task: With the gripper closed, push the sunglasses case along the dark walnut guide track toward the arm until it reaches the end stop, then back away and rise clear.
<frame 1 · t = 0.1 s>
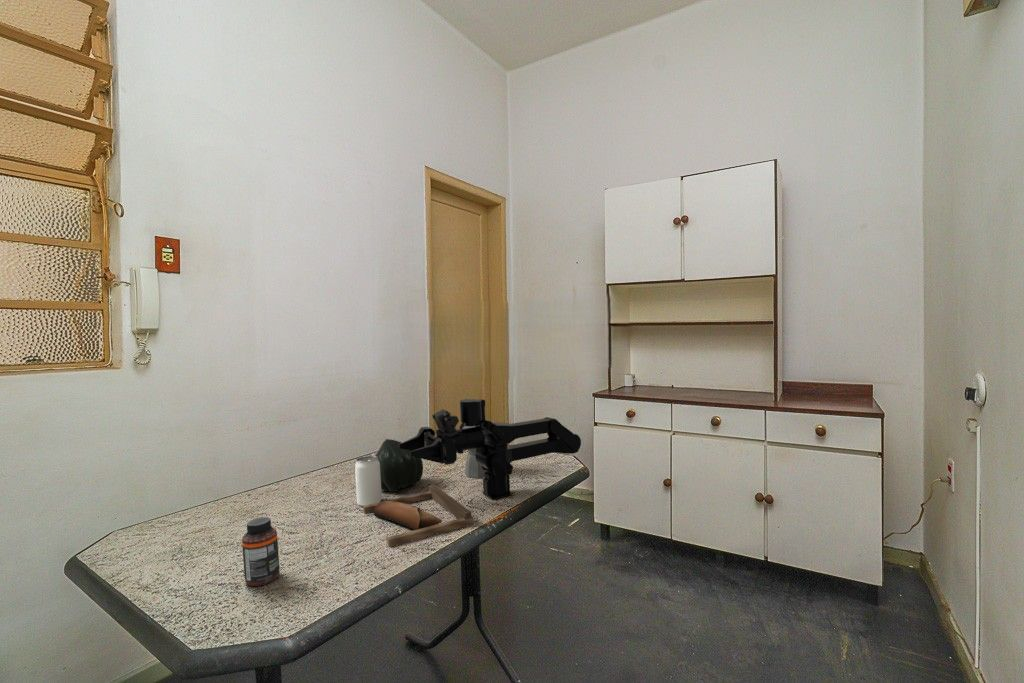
hand: (404, 450, 117), 17 cm above the table, tool horizontal, fingers open, 9 cm apart
coffeepot: (477, 473, 151), on the table
squash: (397, 487, 141), on the table
sunglasses case: (409, 522, 116), on the table
guide track: (416, 517, 117), on the table
supplement bottle: (262, 580, 90), on the table
can: (369, 503, 129), on the table
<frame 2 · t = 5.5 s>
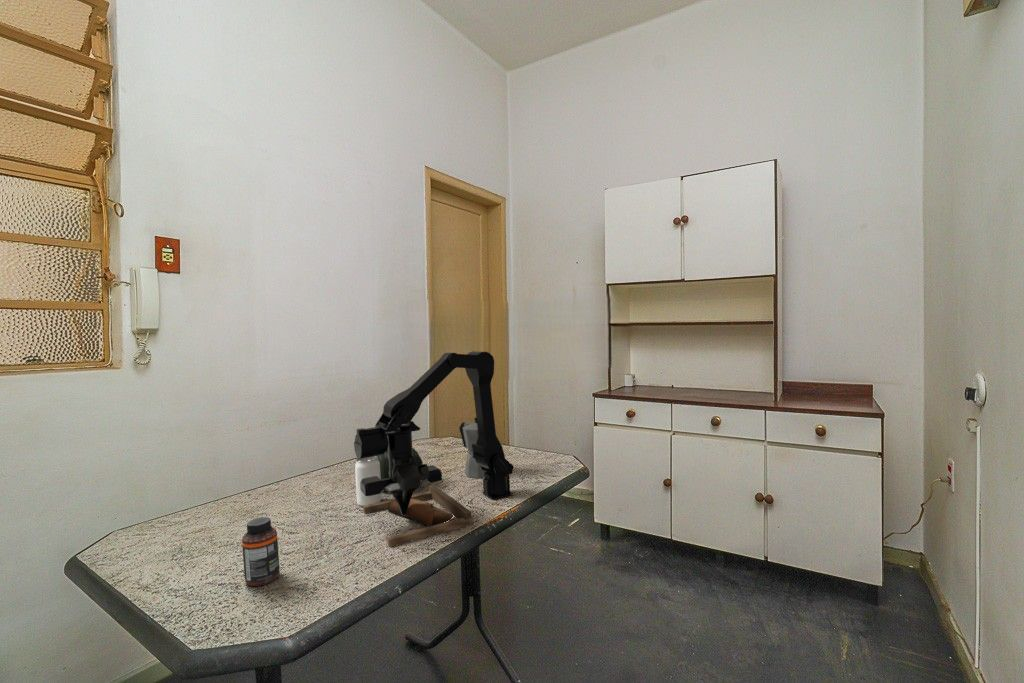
hand: (403, 514, 115), 1 cm above the table, tool pointing down, fingers closed
sunglasses case: (422, 518, 119), on the table, touching gripper
everything else where it was.
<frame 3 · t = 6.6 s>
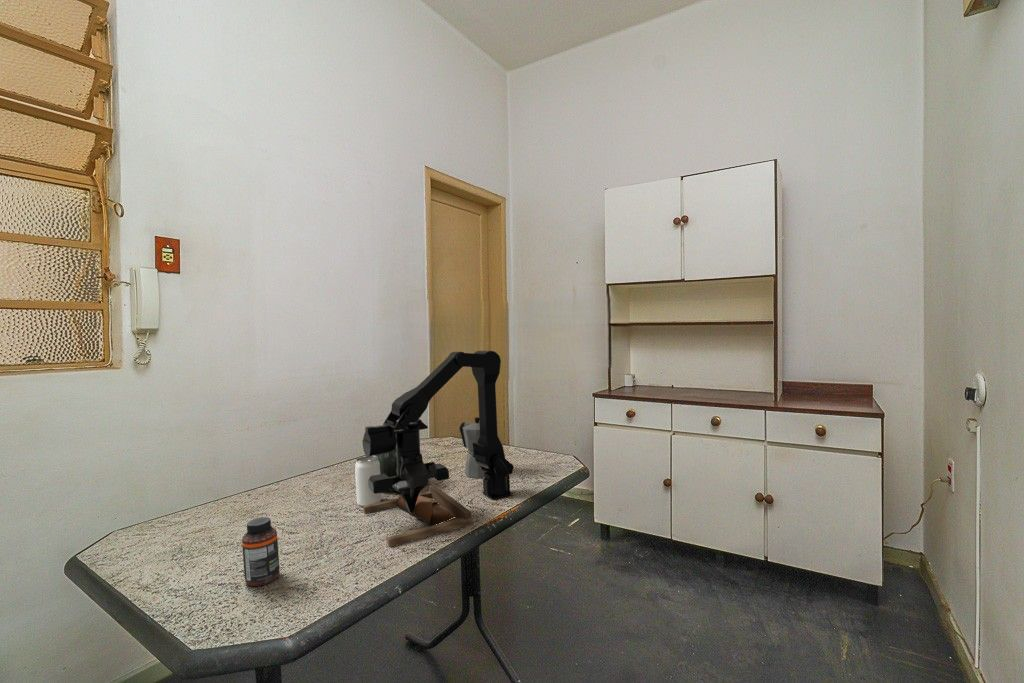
hand: (411, 512, 116), 2 cm above the table, tool pointing down, fingers closed
sunglasses case: (426, 515, 120), on the table, touching gripper
everything else where it was.
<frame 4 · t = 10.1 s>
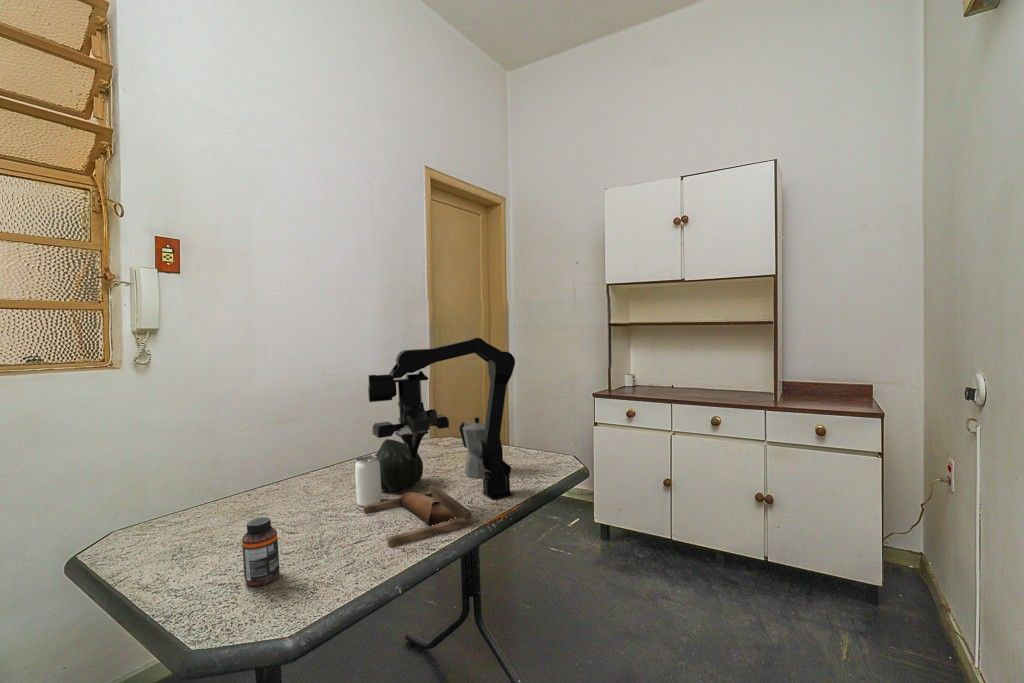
hand: (413, 458, 123), 13 cm above the table, tool pointing down, fingers closed
sunglasses case: (428, 514, 120), on the table
everything else where it was.
at the end: sunglasses case inside the target area (1.9 cm from its centre), on the table; sunglasses case moved 6.2 cm from its start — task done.
